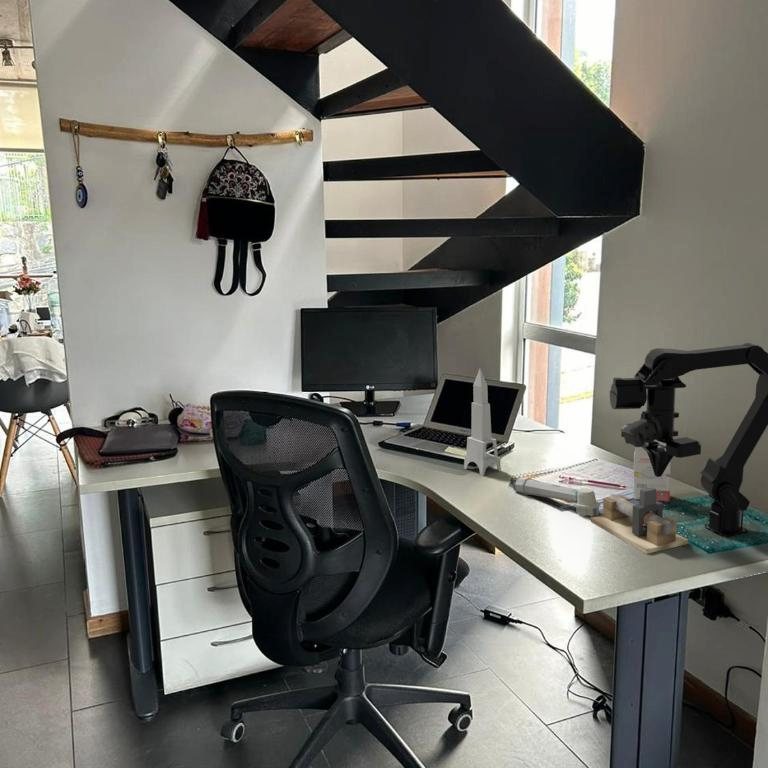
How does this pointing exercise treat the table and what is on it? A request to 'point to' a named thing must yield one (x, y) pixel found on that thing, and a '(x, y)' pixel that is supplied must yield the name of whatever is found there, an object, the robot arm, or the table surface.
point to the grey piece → (560, 494)
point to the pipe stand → (658, 528)
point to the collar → (645, 510)
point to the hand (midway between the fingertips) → (658, 476)
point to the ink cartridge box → (649, 477)
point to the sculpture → (481, 429)
